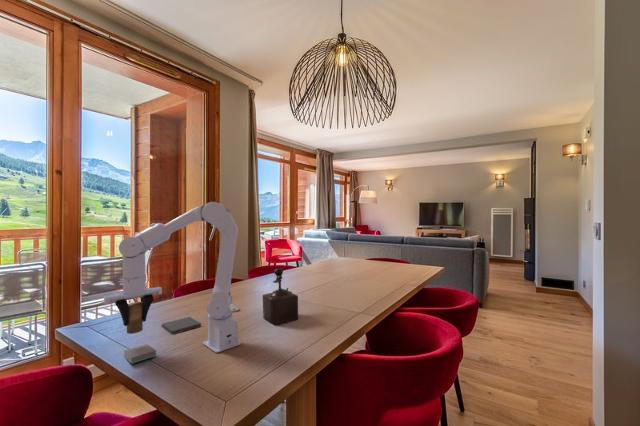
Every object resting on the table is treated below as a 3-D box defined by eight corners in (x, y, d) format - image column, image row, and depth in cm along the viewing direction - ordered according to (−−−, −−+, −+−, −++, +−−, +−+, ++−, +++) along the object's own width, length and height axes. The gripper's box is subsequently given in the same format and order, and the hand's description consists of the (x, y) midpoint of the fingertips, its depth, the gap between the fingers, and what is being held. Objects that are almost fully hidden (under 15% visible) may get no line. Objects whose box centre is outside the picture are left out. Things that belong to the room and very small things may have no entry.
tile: (147, 349, 89) (156, 355, 83) (124, 356, 84) (131, 363, 79) (147, 344, 89) (155, 350, 83) (124, 350, 84) (131, 357, 79)
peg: (144, 330, 88) (144, 303, 88) (128, 334, 85) (128, 307, 85) (140, 327, 90) (140, 301, 90) (125, 331, 88) (125, 304, 88)
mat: (200, 326, 107) (200, 323, 107) (171, 334, 100) (171, 331, 100) (189, 319, 114) (189, 316, 114) (161, 326, 107) (161, 323, 107)
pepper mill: (300, 319, 112) (300, 272, 112) (274, 326, 106) (274, 276, 106) (281, 309, 125) (280, 266, 125) (256, 314, 118) (256, 269, 119)
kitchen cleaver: (210, 298, 141) (232, 294, 145) (210, 300, 141) (232, 296, 145) (215, 314, 118) (240, 309, 123) (215, 317, 118) (240, 312, 123)
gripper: (156, 271, 96) (157, 313, 95) (101, 279, 85) (102, 326, 85) (164, 274, 91) (164, 318, 91) (106, 282, 80) (107, 332, 80)
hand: (134, 322), depth 88 cm, fingers closed on peg, 4 cm apart
